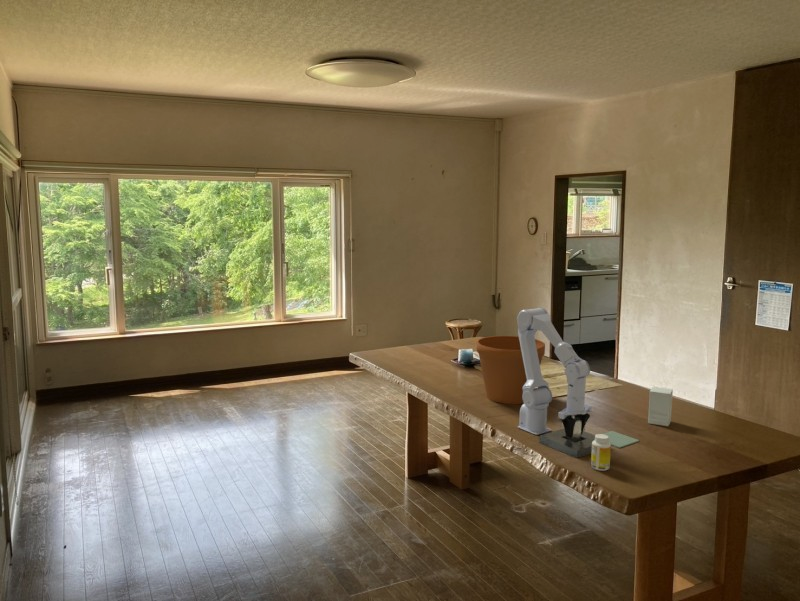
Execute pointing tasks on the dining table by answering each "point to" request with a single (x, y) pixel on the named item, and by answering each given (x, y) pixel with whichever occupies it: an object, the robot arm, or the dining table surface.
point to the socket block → (568, 443)
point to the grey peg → (576, 431)
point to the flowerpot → (504, 367)
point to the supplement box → (660, 406)
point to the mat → (619, 439)
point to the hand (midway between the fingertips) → (573, 435)
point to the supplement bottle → (601, 453)
